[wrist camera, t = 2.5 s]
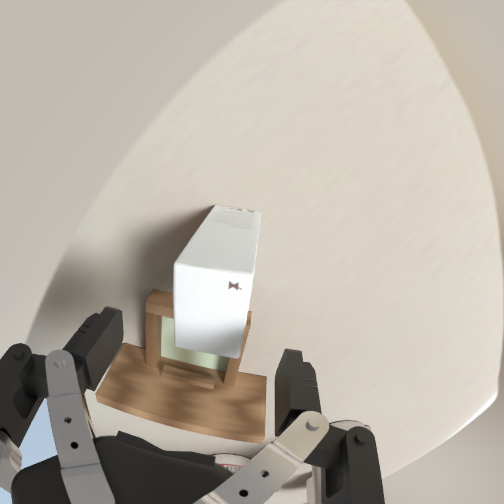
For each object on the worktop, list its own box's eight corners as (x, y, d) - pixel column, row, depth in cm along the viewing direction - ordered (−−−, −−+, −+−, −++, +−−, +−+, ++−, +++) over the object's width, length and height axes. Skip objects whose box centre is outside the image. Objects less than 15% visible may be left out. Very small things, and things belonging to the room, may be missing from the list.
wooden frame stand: (287, 318, 29) (292, 383, 21) (263, 384, 33) (261, 443, 25) (122, 280, 29) (80, 329, 20) (125, 351, 33) (97, 401, 25)
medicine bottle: (305, 479, 47) (307, 525, 36) (320, 468, 44) (323, 517, 33) (334, 480, 47) (338, 523, 36) (350, 468, 44) (356, 515, 33)
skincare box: (213, 203, 25) (171, 259, 14) (262, 210, 25) (256, 272, 14) (207, 265, 27) (172, 349, 16) (252, 272, 28) (241, 361, 16)
